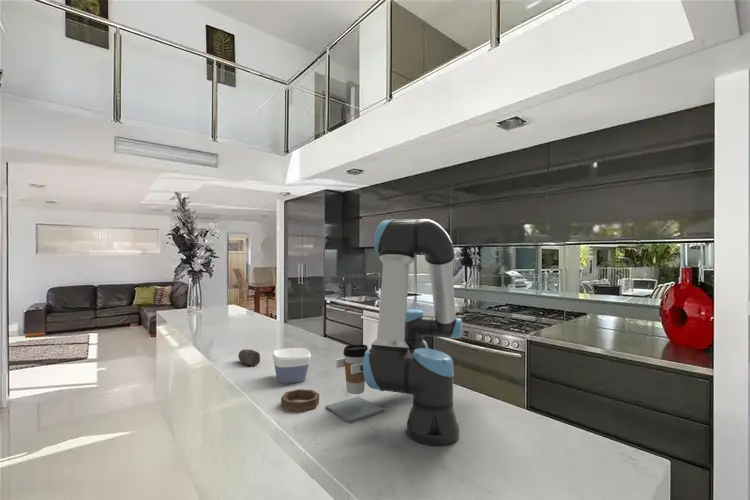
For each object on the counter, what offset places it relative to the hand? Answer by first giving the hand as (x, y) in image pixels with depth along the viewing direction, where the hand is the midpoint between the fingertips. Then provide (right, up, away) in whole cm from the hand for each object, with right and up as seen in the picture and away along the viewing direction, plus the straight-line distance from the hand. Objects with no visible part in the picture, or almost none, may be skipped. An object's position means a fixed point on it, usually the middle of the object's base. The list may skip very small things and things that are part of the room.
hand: (343, 366), depth 119 cm
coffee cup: (+4, -9, +3) cm, 10 cm away
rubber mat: (+3, -15, +2) cm, 16 cm away
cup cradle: (-16, -15, +6) cm, 22 cm away
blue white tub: (-25, -16, +32) cm, 44 cm away
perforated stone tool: (-50, -16, +53) cm, 75 cm away
